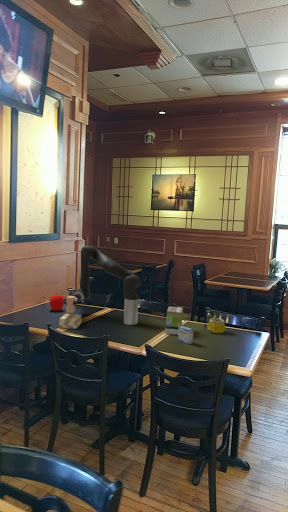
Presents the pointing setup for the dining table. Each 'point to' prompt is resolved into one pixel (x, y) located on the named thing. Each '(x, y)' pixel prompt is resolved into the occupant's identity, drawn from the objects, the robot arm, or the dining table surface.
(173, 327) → the tea box
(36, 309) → the dining table surface
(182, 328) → the medicine box
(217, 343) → the dining table surface
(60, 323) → the birch block
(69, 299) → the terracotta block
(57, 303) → the red apple
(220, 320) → the yellow teapot
